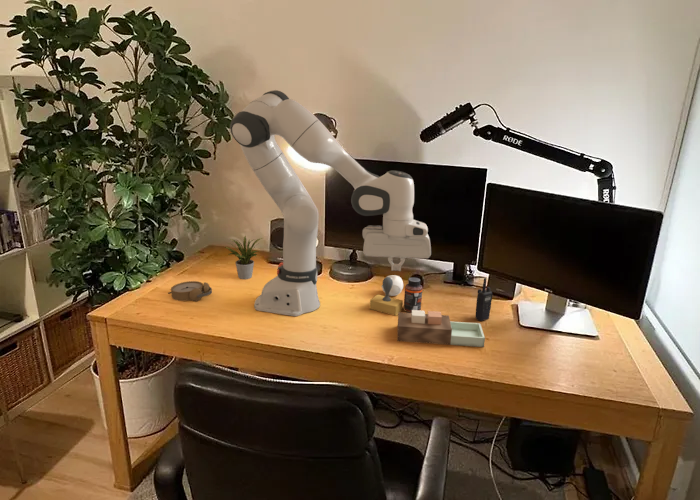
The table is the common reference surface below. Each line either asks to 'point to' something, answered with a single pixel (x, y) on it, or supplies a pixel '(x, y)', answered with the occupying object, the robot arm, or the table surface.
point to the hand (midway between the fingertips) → (396, 270)
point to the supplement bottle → (413, 295)
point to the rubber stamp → (386, 300)
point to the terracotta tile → (434, 317)
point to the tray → (467, 334)
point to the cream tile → (418, 316)
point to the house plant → (244, 259)
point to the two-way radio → (483, 303)
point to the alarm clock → (190, 291)
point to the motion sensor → (395, 285)
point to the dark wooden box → (423, 330)
